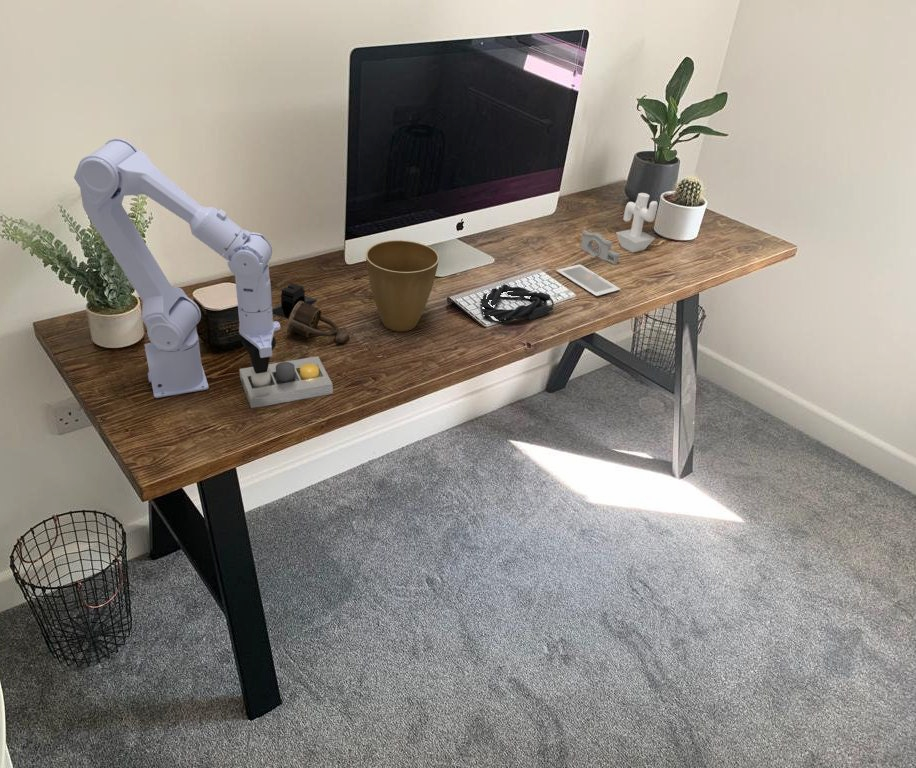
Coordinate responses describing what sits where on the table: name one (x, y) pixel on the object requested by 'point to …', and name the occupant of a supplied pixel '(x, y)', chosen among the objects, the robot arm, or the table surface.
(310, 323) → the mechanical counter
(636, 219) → the figurine
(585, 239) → the grey bracket plate
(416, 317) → the plant pot
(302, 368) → the amber button
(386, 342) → the table surface
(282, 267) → the table surface
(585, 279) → the touchpad
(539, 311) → the cable
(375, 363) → the table surface
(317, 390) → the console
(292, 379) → the dark grey rounded block
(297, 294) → the black mount on base
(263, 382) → the white button
